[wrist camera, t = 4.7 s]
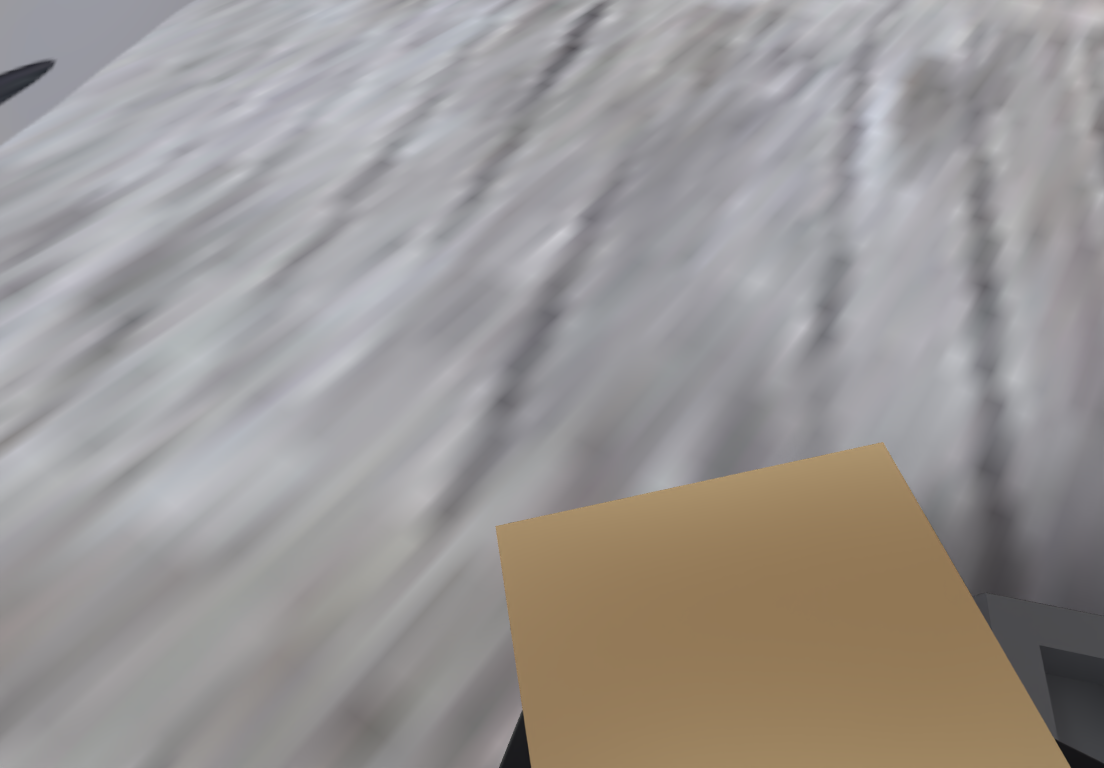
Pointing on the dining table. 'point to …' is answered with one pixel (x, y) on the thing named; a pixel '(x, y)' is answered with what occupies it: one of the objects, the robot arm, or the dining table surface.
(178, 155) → the dining table surface
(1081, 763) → the robot arm
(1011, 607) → the end cap
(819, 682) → the block
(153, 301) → the dining table surface
